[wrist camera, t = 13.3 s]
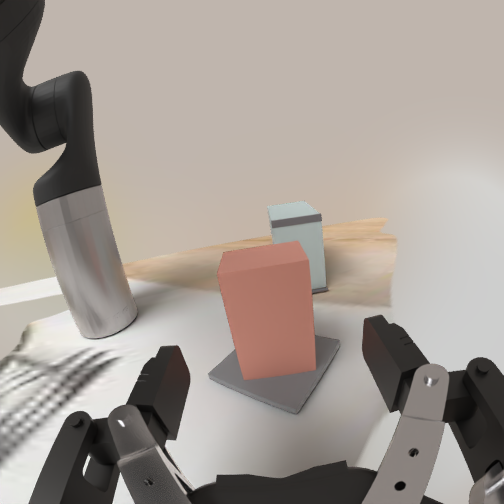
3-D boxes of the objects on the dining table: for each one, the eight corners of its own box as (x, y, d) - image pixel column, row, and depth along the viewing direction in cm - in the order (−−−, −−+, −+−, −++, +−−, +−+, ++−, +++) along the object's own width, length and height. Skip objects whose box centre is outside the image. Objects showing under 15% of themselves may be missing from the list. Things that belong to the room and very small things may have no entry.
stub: (316, 370, 19) (308, 259, 16) (243, 380, 19) (216, 273, 16) (307, 339, 22) (298, 240, 20) (244, 348, 23) (223, 252, 20)
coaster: (209, 378, 20) (208, 373, 20) (263, 328, 26) (262, 323, 26) (296, 414, 16) (296, 409, 15) (339, 345, 21) (340, 340, 21)
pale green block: (328, 290, 31) (323, 215, 28) (282, 298, 31) (271, 223, 29) (311, 258, 41) (304, 200, 39) (275, 263, 42) (266, 206, 39)
